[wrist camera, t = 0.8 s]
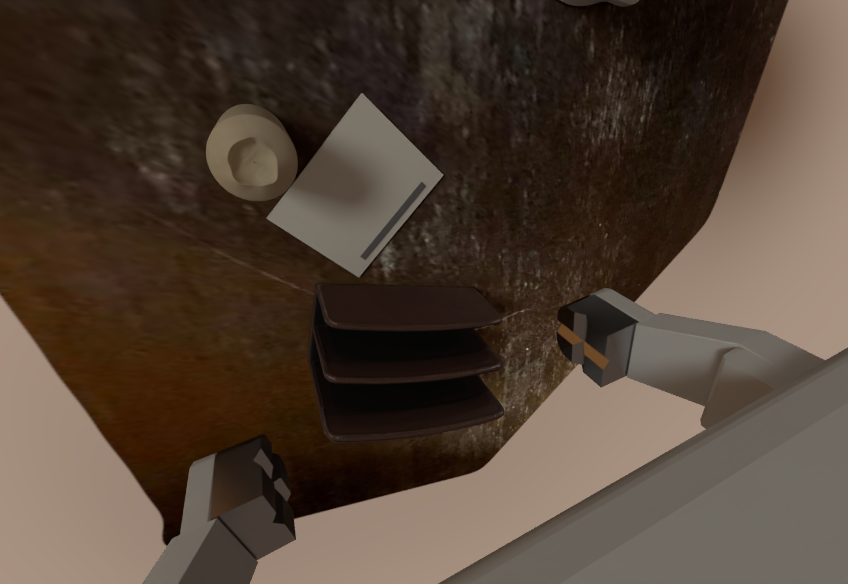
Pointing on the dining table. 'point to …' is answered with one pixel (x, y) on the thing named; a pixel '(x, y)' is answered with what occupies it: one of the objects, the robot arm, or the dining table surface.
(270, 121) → the candle
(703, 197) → the dining table surface
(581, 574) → the robot arm
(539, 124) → the dining table surface
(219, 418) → the dining table surface
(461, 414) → the letter holder
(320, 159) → the white rectangular plate
